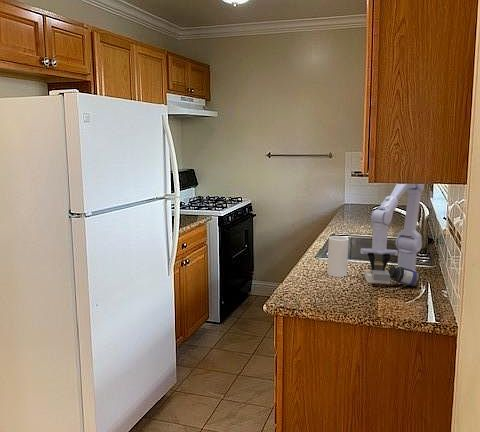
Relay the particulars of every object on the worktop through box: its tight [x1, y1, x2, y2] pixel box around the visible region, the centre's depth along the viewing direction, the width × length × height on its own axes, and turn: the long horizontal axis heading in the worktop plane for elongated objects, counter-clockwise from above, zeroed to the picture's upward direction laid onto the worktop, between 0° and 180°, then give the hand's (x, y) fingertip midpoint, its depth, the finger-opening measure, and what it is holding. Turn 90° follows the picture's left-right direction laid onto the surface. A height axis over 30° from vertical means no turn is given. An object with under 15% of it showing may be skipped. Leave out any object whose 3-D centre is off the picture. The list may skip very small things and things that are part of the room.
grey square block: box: [372, 270, 391, 282], centre depth 186 cm, size 6×6×2 cm
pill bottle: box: [387, 266, 421, 287], centre depth 187 cm, size 6×6×11 cm
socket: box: [364, 269, 391, 285], centre depth 195 cm, size 9×9×3 cm
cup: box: [326, 235, 350, 278], centre depth 201 cm, size 8×8×16 cm
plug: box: [374, 260, 383, 271], centre depth 194 cm, size 4×4×6 cm
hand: (377, 271), depth 195 cm, fingers closed on plug, 3 cm apart
